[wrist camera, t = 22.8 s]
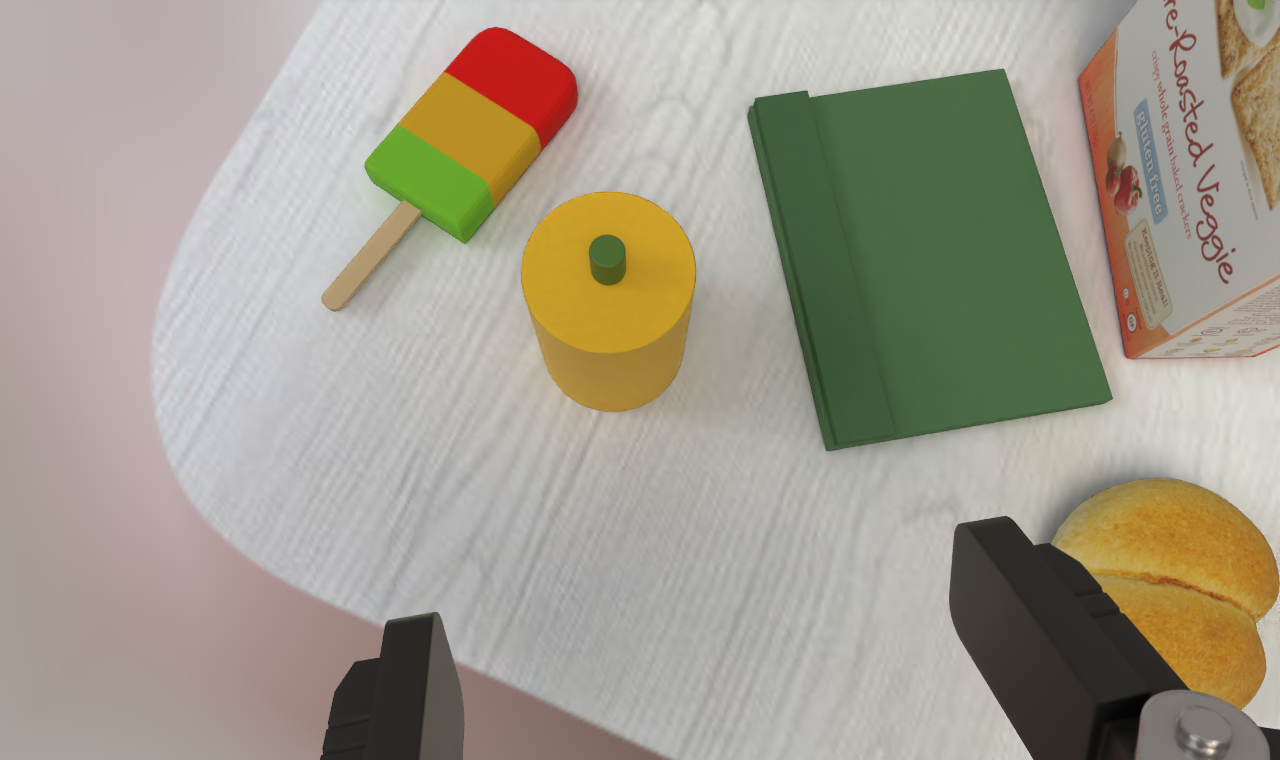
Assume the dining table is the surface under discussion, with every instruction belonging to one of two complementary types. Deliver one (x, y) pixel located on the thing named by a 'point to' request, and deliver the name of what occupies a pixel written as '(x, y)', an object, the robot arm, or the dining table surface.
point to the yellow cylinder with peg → (610, 298)
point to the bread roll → (1182, 577)
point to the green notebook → (922, 259)
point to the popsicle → (463, 145)
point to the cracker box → (1191, 174)
